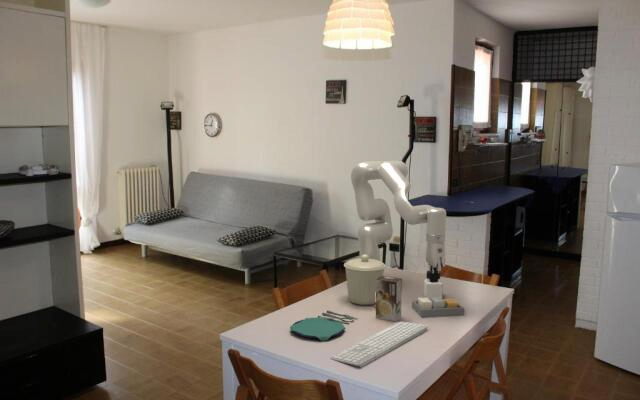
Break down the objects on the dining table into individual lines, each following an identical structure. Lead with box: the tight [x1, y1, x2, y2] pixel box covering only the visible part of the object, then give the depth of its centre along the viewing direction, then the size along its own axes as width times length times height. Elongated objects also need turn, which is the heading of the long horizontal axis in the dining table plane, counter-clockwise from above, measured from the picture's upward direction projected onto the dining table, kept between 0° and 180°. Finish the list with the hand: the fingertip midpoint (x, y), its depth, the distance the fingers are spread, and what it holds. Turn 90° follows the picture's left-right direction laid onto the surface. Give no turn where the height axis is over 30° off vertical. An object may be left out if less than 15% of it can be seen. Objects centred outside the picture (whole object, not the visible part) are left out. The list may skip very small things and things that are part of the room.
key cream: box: [417, 297, 432, 309], centre depth 229 cm, size 4×6×3 cm
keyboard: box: [330, 320, 429, 368], centre depth 198 cm, size 44×12×2 cm, turn 140°
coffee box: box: [375, 275, 403, 322], centre depth 222 cm, size 9×6×16 cm
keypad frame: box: [411, 299, 465, 318], centre depth 231 cm, size 18×12×3 cm, turn 99°
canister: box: [343, 254, 387, 306], centre depth 242 cm, size 18×18×21 cm
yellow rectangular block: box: [442, 298, 459, 308], centre depth 231 cm, size 4×6×3 cm
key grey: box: [430, 297, 445, 309], centre depth 230 cm, size 4×6×3 cm
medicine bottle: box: [423, 269, 444, 300], centre depth 249 cm, size 7×7×12 cm
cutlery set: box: [289, 309, 359, 342], centre depth 213 cm, size 20×30×2 cm, turn 147°
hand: (433, 281), depth 229 cm, fingers closed
